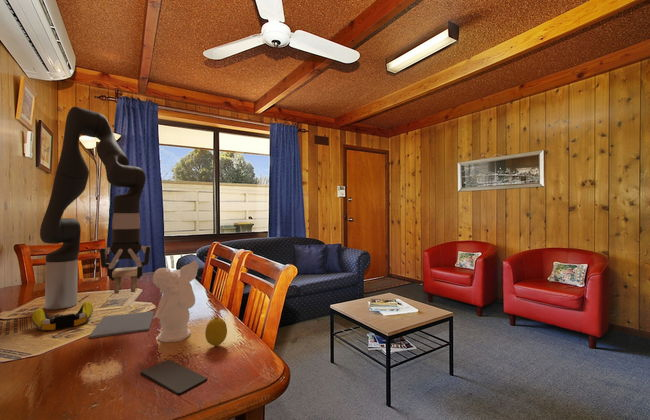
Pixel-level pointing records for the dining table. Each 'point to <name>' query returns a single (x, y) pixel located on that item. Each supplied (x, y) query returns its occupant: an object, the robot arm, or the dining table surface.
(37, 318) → the gaming controller
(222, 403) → the dining table surface
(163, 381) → the smartphone
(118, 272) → the stool
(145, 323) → the mat
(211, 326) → the lemon
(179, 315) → the cherub figurine
